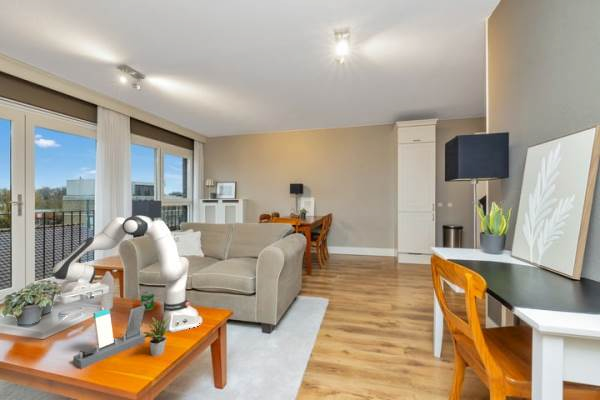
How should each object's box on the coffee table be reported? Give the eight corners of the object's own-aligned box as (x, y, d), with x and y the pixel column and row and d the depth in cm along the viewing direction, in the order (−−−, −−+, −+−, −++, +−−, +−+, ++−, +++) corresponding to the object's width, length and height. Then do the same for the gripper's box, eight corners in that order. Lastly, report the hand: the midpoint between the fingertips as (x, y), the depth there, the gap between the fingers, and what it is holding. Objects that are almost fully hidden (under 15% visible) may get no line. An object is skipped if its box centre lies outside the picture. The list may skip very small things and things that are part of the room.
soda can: (139, 309, 177) (139, 291, 177) (151, 306, 183) (151, 289, 183) (142, 312, 172) (143, 294, 172) (155, 309, 178) (155, 291, 178)
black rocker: (90, 349, 122) (90, 346, 122) (96, 350, 119) (96, 347, 119) (80, 353, 119) (80, 350, 119) (86, 354, 116) (85, 352, 116)
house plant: (154, 342, 136) (155, 310, 136) (180, 344, 134) (180, 312, 134) (134, 358, 121) (135, 323, 122) (162, 361, 120) (163, 325, 120)
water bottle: (103, 311, 173) (104, 273, 174) (98, 309, 177) (99, 271, 177) (118, 307, 181) (119, 270, 181) (113, 305, 184) (114, 269, 185)
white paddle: (112, 342, 128) (107, 309, 131) (114, 342, 127) (109, 308, 130) (97, 348, 123) (93, 313, 126) (99, 348, 122) (94, 312, 125)
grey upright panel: (137, 332, 138) (143, 305, 135) (138, 333, 137) (145, 306, 135) (124, 336, 133) (131, 309, 130) (126, 338, 132) (132, 310, 129)
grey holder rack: (136, 337, 141) (136, 327, 141) (144, 341, 137) (145, 331, 137) (73, 362, 118) (73, 350, 118) (81, 369, 114) (81, 356, 114)
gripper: (54, 291, 132) (66, 296, 125) (102, 281, 150) (114, 285, 142) (54, 303, 132) (65, 309, 125) (101, 292, 149) (113, 297, 142)
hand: (91, 296), depth 134 cm, fingers closed
